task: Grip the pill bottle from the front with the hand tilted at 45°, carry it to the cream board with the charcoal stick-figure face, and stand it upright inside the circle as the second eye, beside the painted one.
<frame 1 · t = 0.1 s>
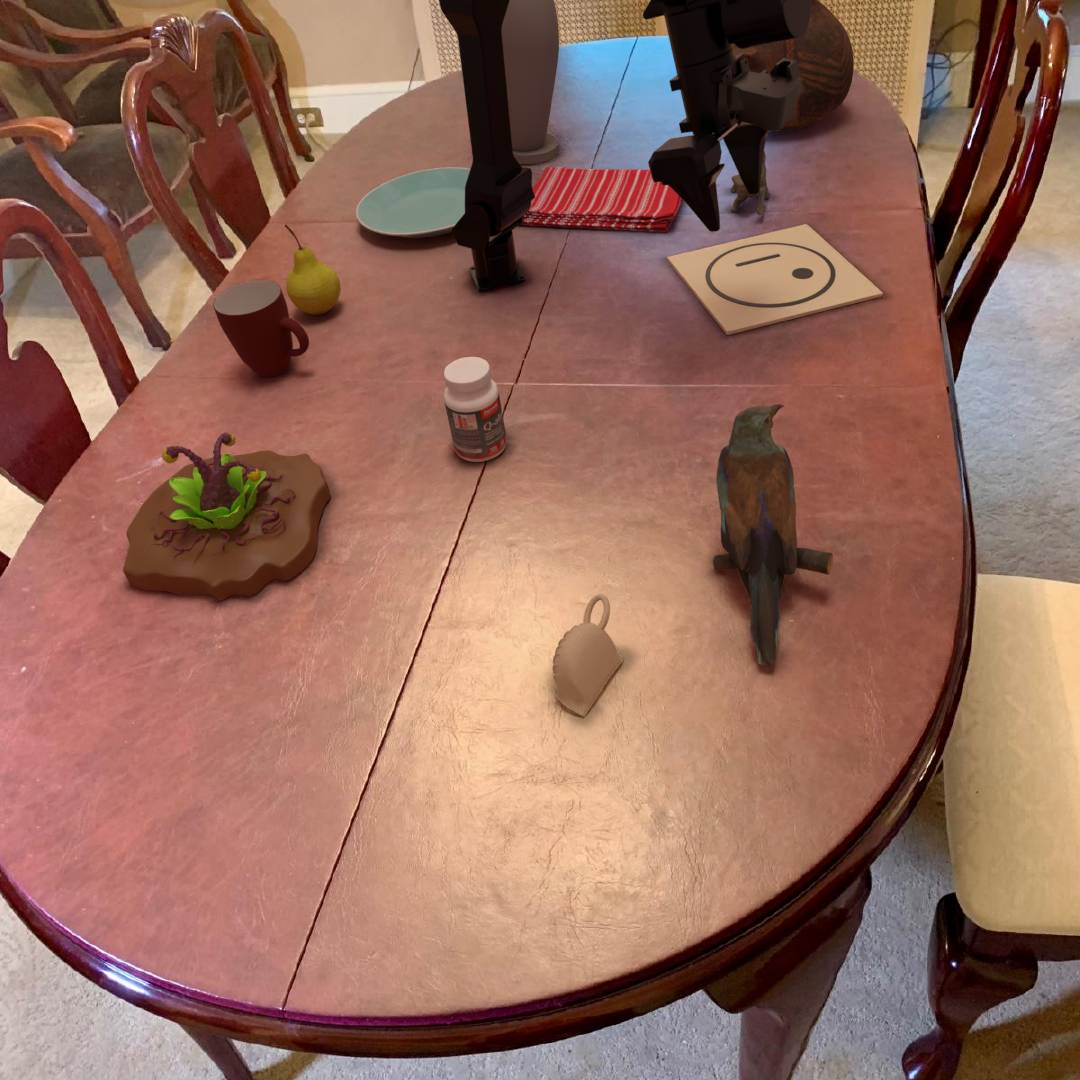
hand: (735, 211, 100), 15 cm above the table, tool pointing down, fingers open, 9 cm apart
bird figurine: (769, 577, 83), on the table
plate: (431, 216, 143), on the table
mug: (282, 370, 116), on the table
vase: (527, 154, 155), on the table
dish towel: (606, 204, 139), on the table
pill bottle: (481, 448, 101), on the table
fruit: (321, 312, 126), on the table
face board: (769, 277, 119), on the table
dog figurine: (747, 205, 134), on the table
jug: (778, 119, 154), on the table
plant: (232, 531, 96), on the table
decorative ornament: (590, 675, 78), on the table
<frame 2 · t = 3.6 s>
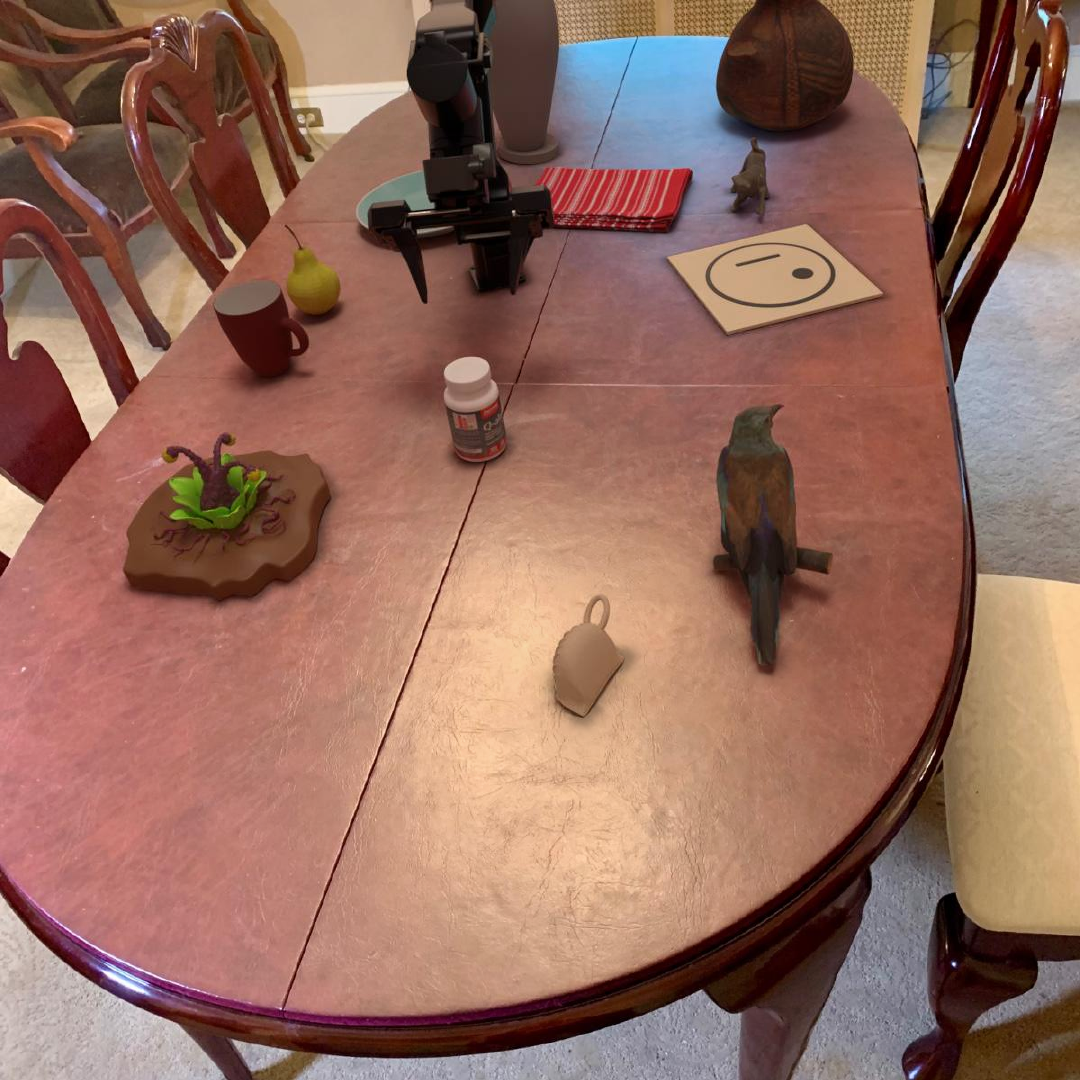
hand: (468, 298, 97), 14 cm above the table, tool tilted 45°, fingers open, 9 cm apart
nothing on the table moved.
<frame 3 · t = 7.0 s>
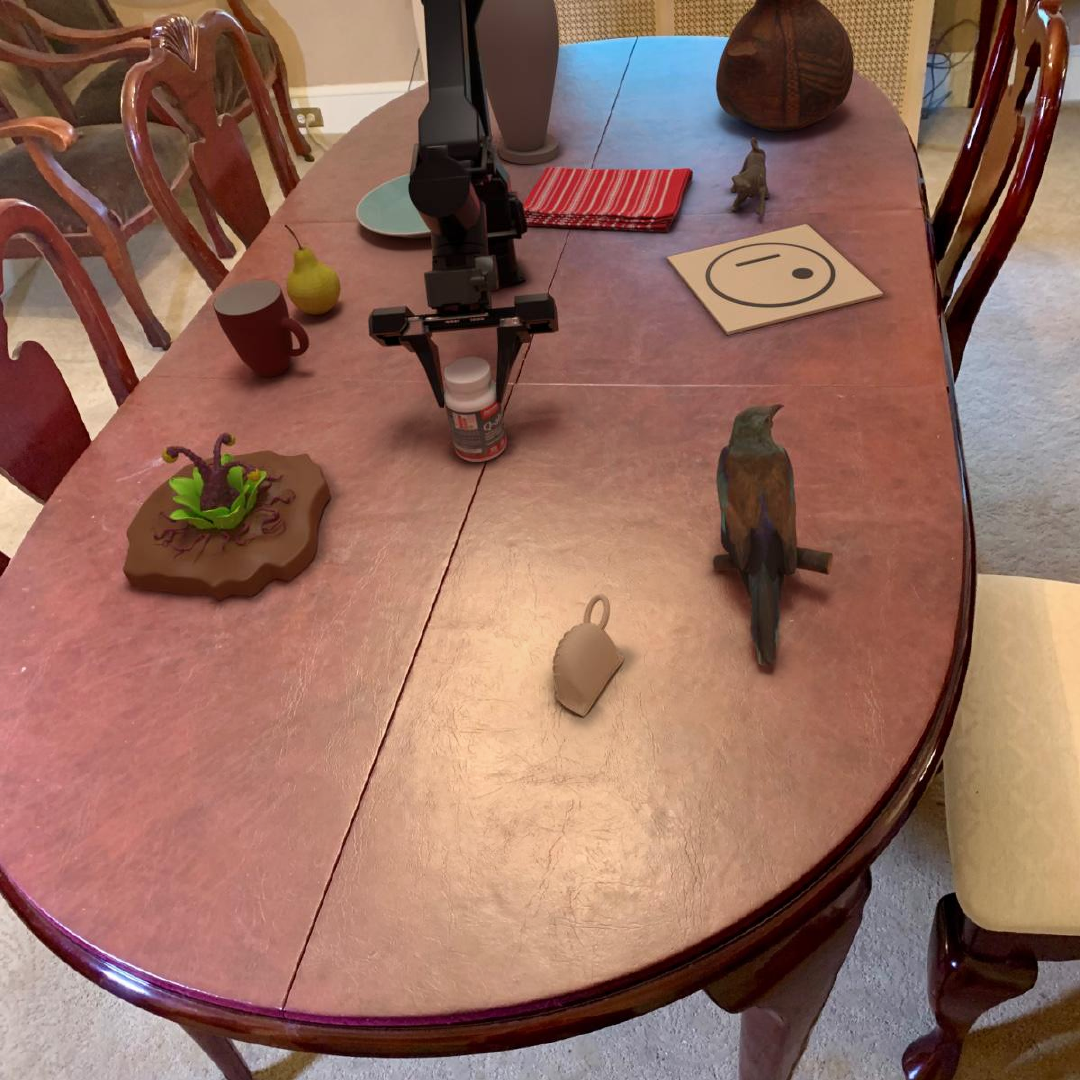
hand: (470, 405, 95), 7 cm above the table, tool tilted 45°, fingers closed on pill bottle, 6 cm apart
pill bottle: (481, 448, 101), on the table, touching gripper
everything else where it was.
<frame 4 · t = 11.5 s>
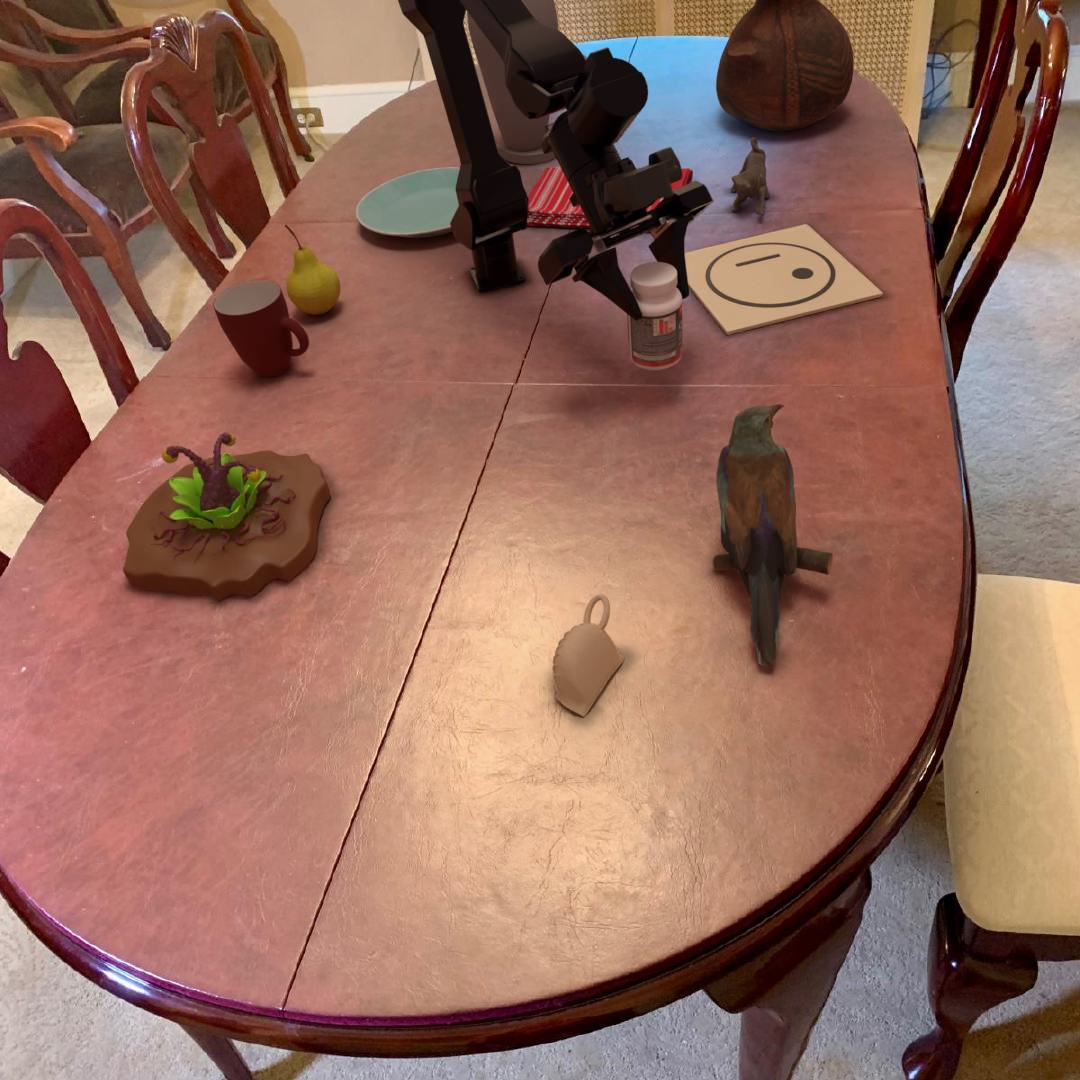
hand: (662, 308, 96), 11 cm above the table, tool tilted 45°, fingers closed on pill bottle, 6 cm apart
pill bottle: (655, 358, 101), point 4 cm above the table, touching gripper
everything else where it was.
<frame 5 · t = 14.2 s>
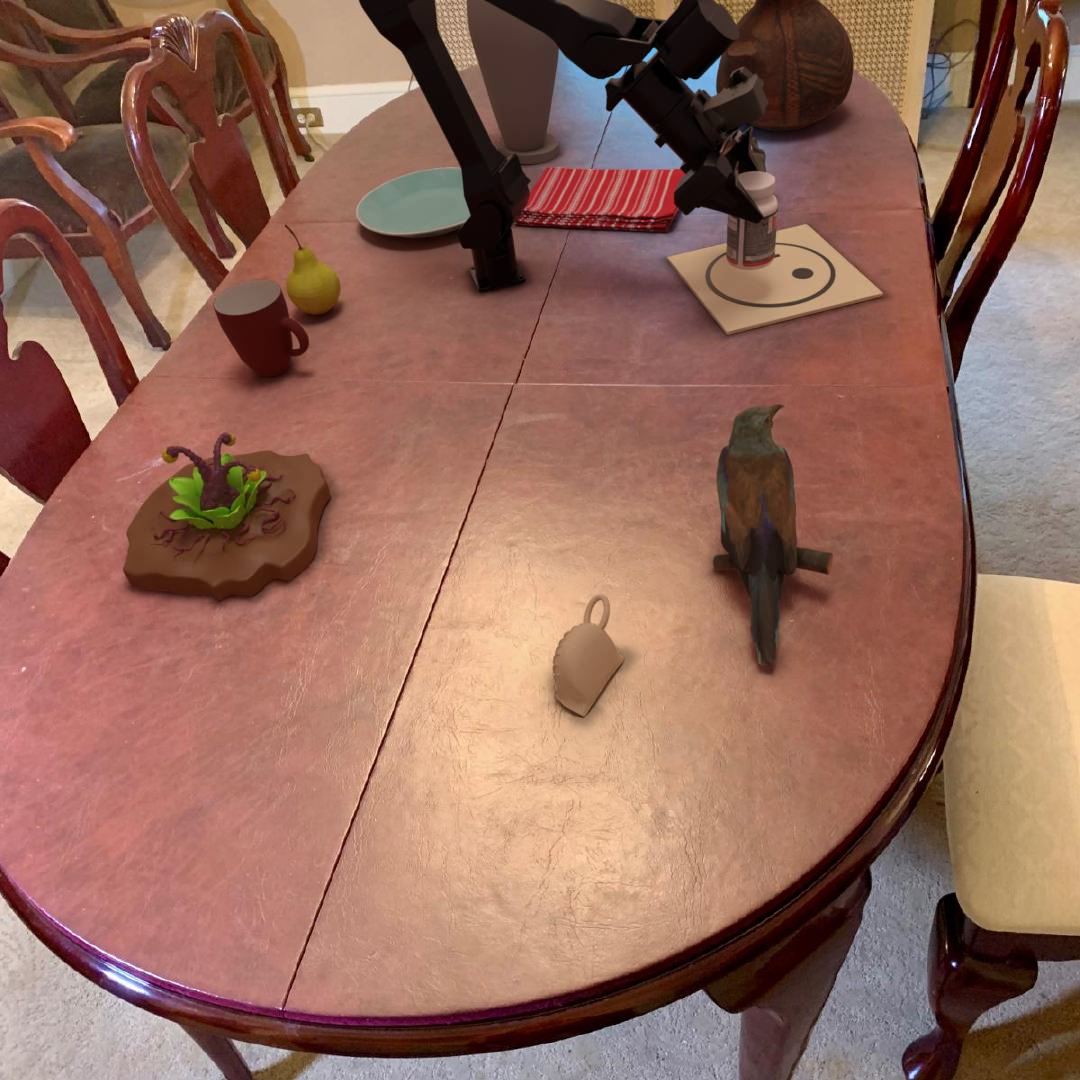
hand: (764, 208, 108), 11 cm above the table, tool tilted 45°, fingers closed on pill bottle, 6 cm apart
pill bottle: (749, 261, 114), point 4 cm above the table, touching gripper
everything else where it was.
when the fingers open (7 cm above the table, at t = 16.5 s): pill bottle stays where it is, resting on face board.
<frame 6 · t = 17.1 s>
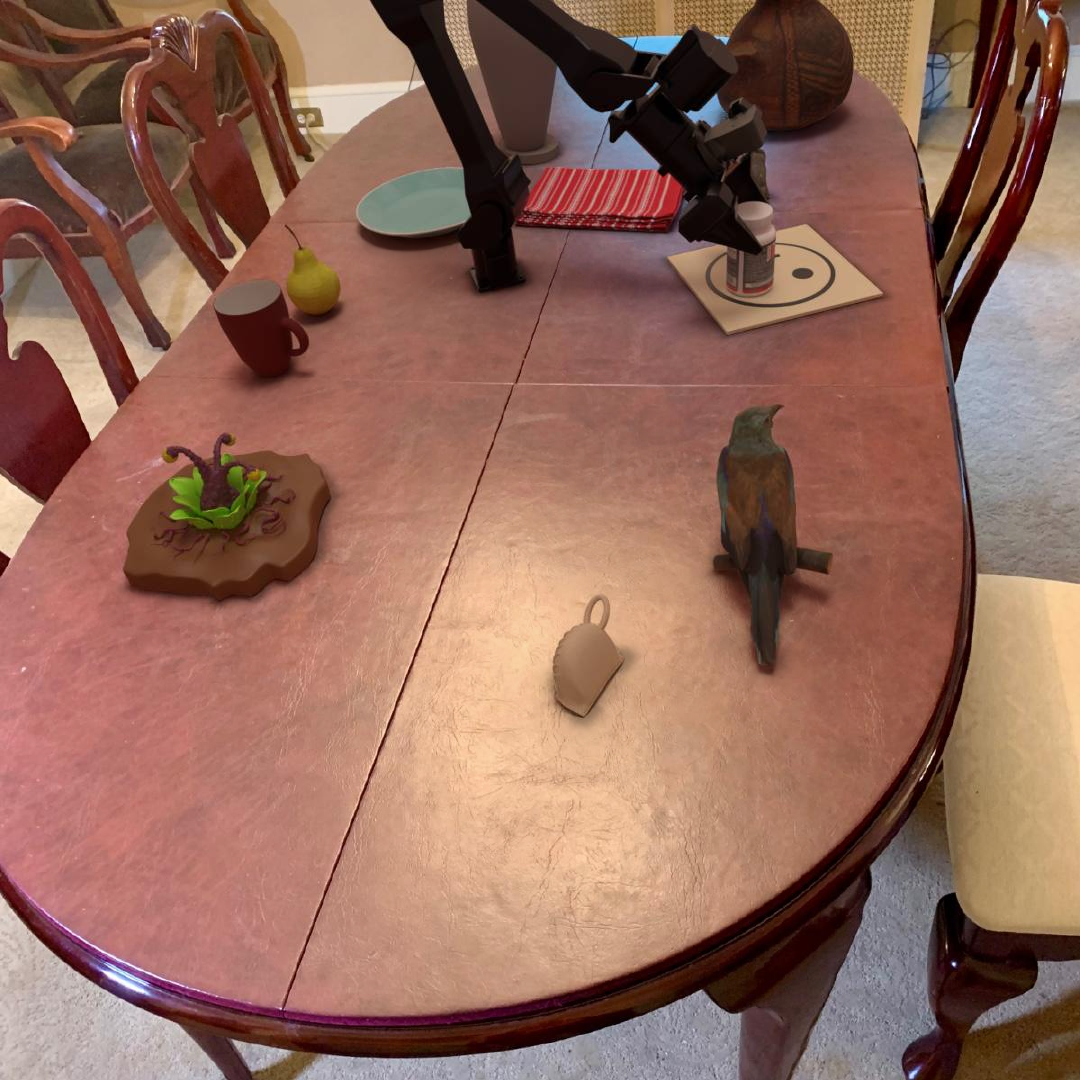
hand: (765, 233, 111), 8 cm above the table, tool tilted 45°, fingers open, 9 cm apart
pill bottle: (749, 287, 117), resting on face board
everything else where it was.
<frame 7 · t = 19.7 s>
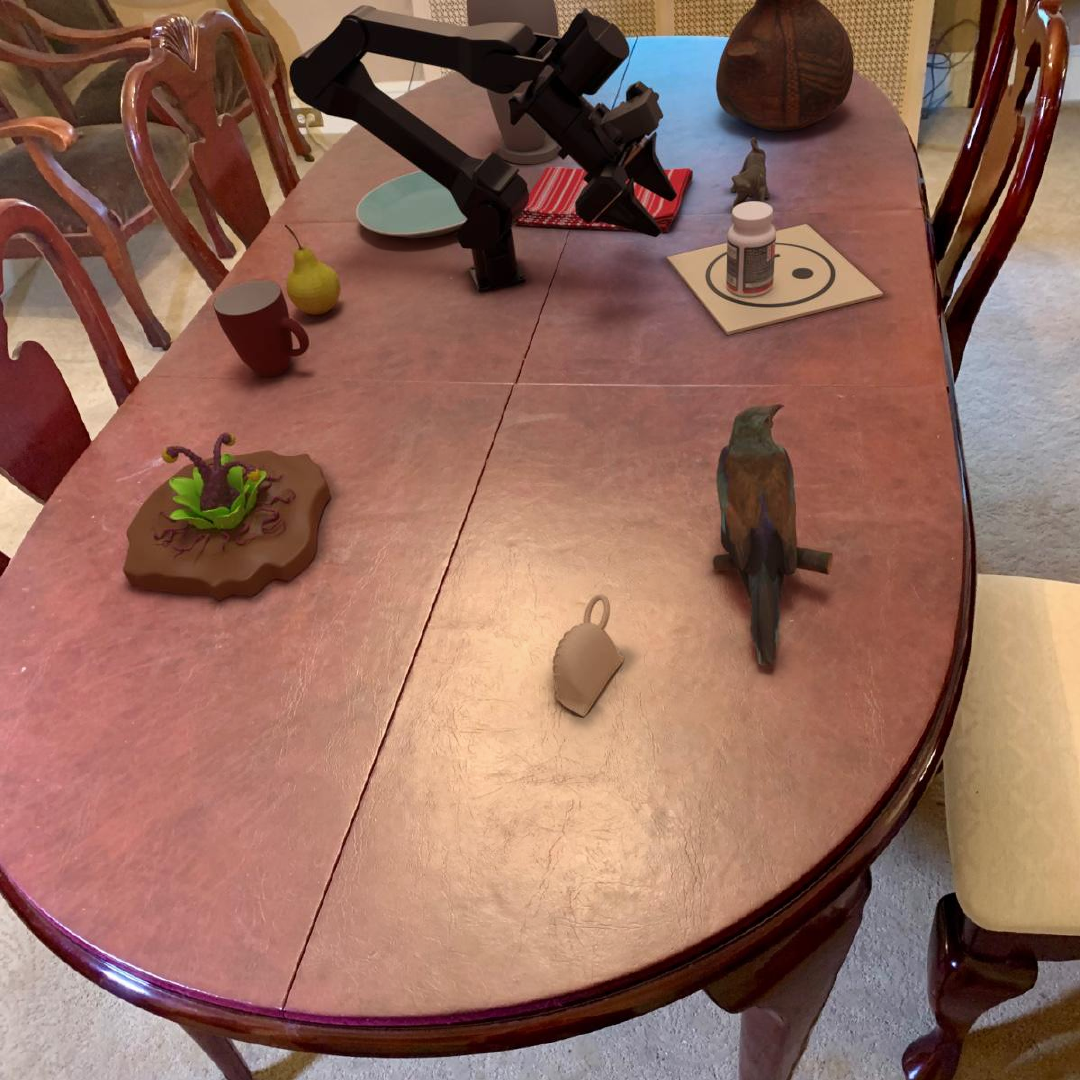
hand: (667, 216, 113), 10 cm above the table, tool tilted 45°, fingers open, 9 cm apart
nothing on the table moved.
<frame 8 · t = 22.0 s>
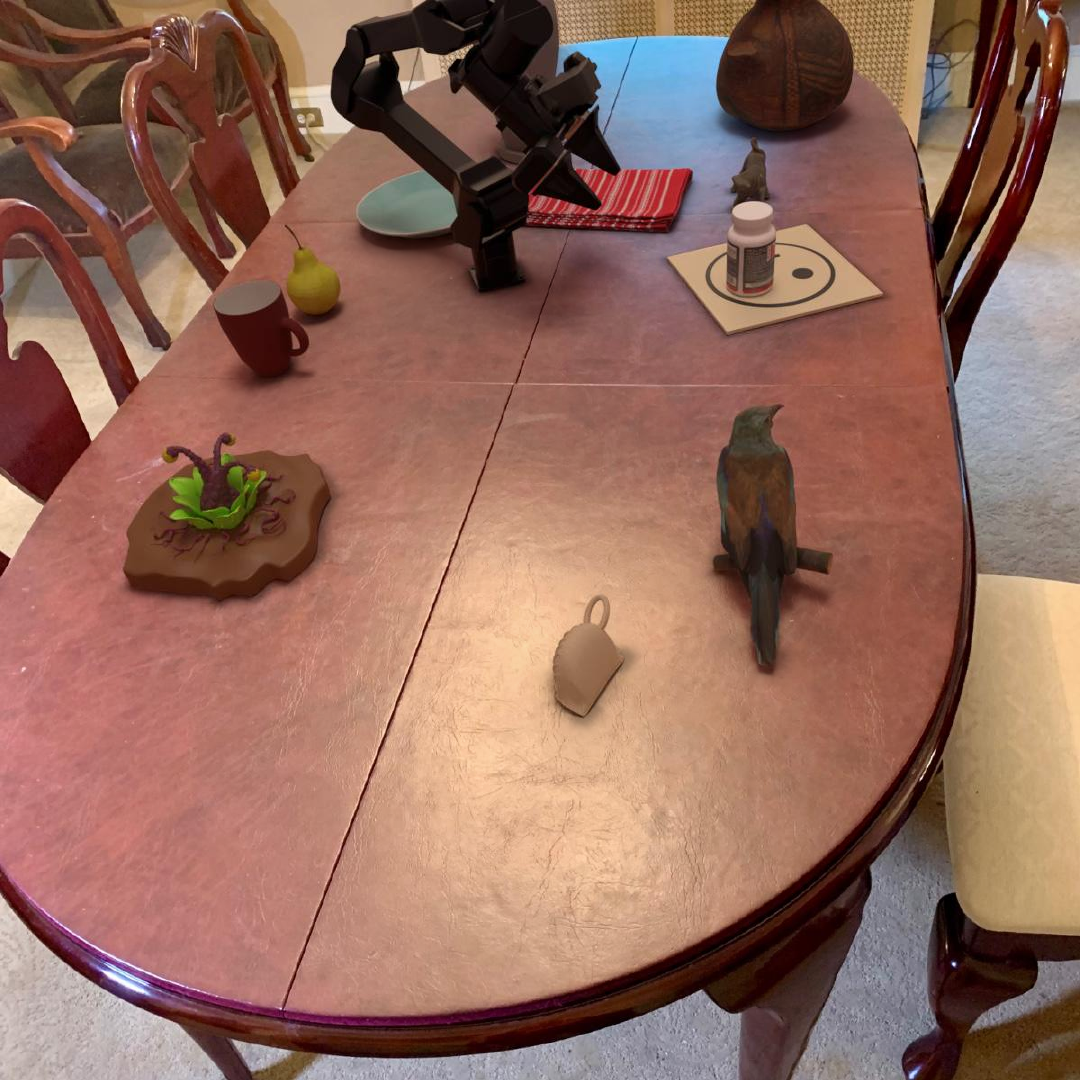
hand: (609, 189, 111), 14 cm above the table, tool tilted 45°, fingers open, 9 cm apart
nothing on the table moved.
at the end: pill bottle 0.1 cm from the target spot on the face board, point 0.5 cm above the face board's base; pill bottle tilted 0° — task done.
